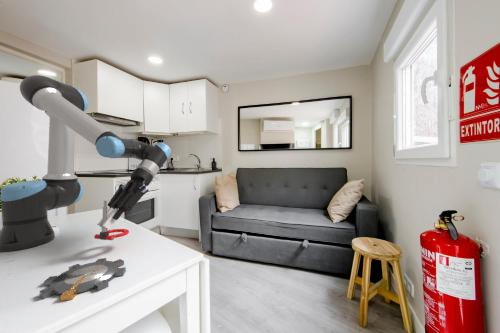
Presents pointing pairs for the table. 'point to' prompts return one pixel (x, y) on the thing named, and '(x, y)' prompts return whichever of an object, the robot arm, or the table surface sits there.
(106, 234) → the tow hook
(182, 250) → the table surface
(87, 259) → the table surface
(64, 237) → the table surface
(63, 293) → the sprocket plate
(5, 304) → the table surface
